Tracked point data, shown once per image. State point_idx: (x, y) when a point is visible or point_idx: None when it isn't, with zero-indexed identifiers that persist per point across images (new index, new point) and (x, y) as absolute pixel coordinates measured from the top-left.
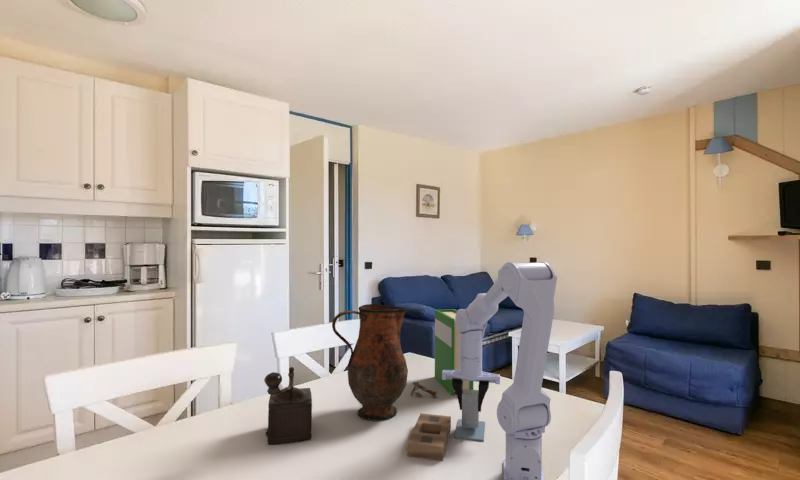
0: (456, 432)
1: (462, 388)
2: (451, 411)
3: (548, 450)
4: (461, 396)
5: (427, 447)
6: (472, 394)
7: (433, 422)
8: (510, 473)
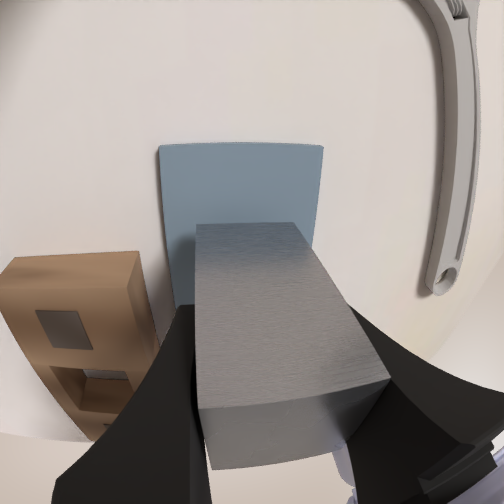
0: (178, 301)
1: (195, 446)
2: (103, 34)
3: (458, 295)
4: (204, 449)
5: None
6: (302, 452)
7: (80, 358)
8: None
